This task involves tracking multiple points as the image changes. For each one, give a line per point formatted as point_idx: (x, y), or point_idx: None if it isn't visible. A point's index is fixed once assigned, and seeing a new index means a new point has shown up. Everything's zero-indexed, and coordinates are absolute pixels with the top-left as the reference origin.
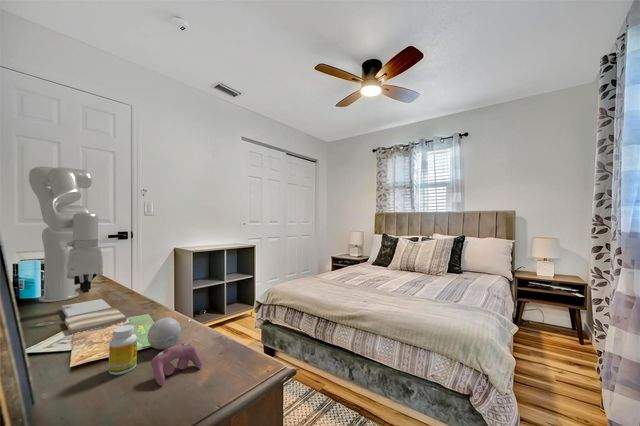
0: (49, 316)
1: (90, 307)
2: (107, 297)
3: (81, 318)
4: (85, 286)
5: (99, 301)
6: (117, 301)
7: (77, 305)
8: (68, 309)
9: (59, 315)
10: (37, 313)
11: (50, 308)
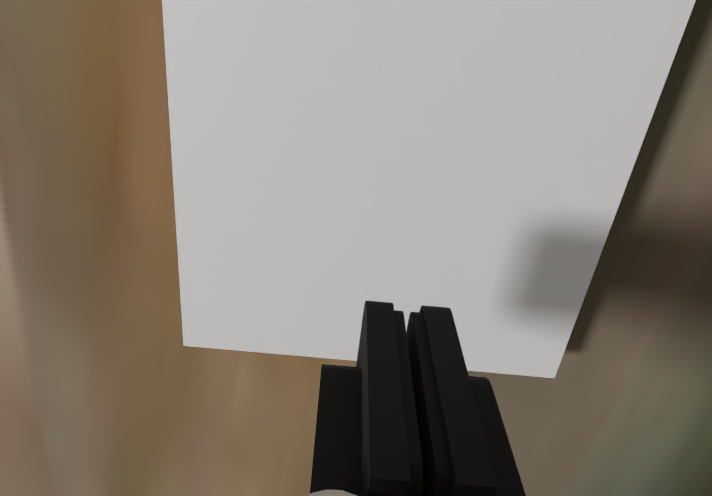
0: (708, 217)
1: (393, 10)
2: (122, 454)
3: None
4: (430, 396)
5: (227, 247)
6: (43, 231)
7: (457, 273)
8: (593, 170)
9: (645, 169)
10: (692, 402)
11: (565, 466)
